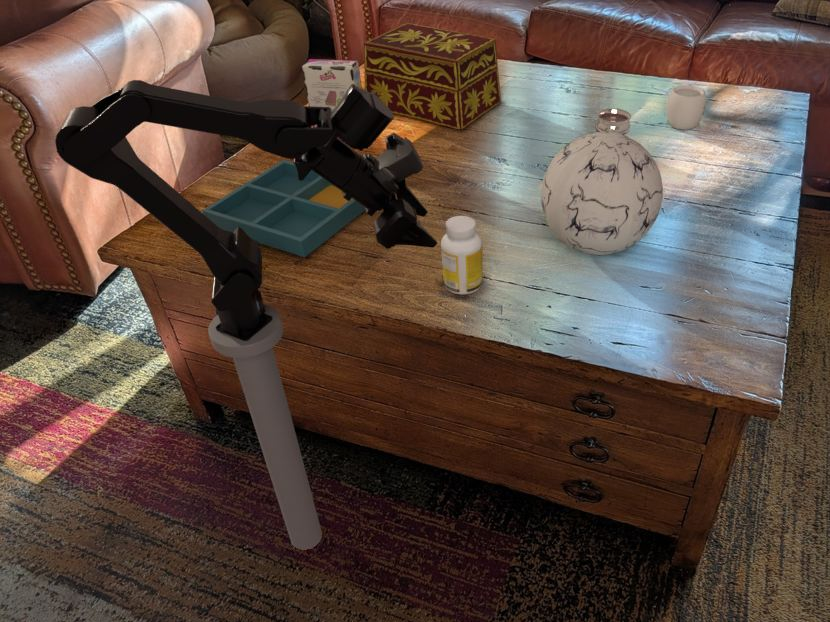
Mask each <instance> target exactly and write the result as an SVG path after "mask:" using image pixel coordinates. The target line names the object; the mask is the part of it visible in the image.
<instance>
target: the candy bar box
mask: <svg viewBox="0 0 830 622" xmlns="http://www.w3.org/2000/svg"><path fill="white" fill-rule="evenodd" d="M301 70H302V75H303V81H304V86H305V92H306V98H307V103H308V106H314V107H330V108H331V110H332V111H333V110H334V108H335V107H336V106H337V105H338V103H339V102H340V101H341V100H342V98H343V97H344V96H345V93H346V91H347V90H348V88H349V87H350V86H351V84H355V85H356V86H357V87H358V88H362V89H363V87H362V78H361V71H360V63H359V60H349V59H348V60H347V59H320V58H319V59H317V58H315V59H314V58H309V59H308V60H307V61H306V62H305V63H303V65H302V66H301ZM312 127H316V128H317V125H314V126H312ZM337 138H339V137H337ZM339 139H340V138H339ZM340 140H341V139H340ZM341 141H342V140H341Z"/></svg>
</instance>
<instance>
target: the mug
mask: <svg viewBox="0 0 830 622" xmlns="http://www.w3.org/2000/svg"><path fill="white" fill-rule="evenodd" d="M707 97H708V96H707V93H706V91H705V89H703V88H701V87H699V86H696V85H690V84H687V85H686V84H683V85H677V86H674V87H673V88H671V89H670V91H669V92H668V96H667V100H666V107H665V110H666V120H667V122H668V125H670V126H671V127H672V128H674V129H677V130H684V131H685V130H692V129H695V128H696V127H697V126H698V125H699V124H700V122H701V120H702V119H703V116H704V114H705V110H706V107H707Z"/></svg>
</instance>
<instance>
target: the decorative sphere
mask: <svg viewBox="0 0 830 622" xmlns="http://www.w3.org/2000/svg"><path fill="white" fill-rule="evenodd" d="M662 179H663V178H662V174H661V171H660V169H659V166H658V164H657V163H656V161H655V159H654V157H653V155H652V154H651V153H650V152H649V151H648V150H647V149H646V148H645V147H644V146H643V145H642V144H641V143H640V142H638V141H637V140H635V139H634V138H631V137H630V136H628V135H626V136H625V135H622V134H618V133H613V132H597V131H596V132H591V133H587V134H584V135H581V136H579V137H577V138H575V139H573V140H571V141H570V142H568V143H567V144H566V145H564V146H563V147H562V148H561V149H559V151H558V152H557V153H556V154H555V155H554V157H553V158H552V159H551V162H550V163H549V165H548V167H547V168H546V171H545V173H544V175H543V178H542V184H541V192H540V193H541V195H540V196H541V197H540V201H541V207H542V211H543V215H544V218H545V221H546V223H547V225H548V226H549V228H550V230H551V231H552V232H553V233H554V235H555V236H556V237H557V238H558V239H559V240H560V241H561V242H563V244H564V245H566V246H568V247H569V248H571V249H573V250H575V251H577V252H580V253H583V254H587V255H593V256H607V255H613V254H616V253H619V252H623V251H625V250H627V249H629V248H631V247H633V246H634V245H636V244H637V243H638V242H639V241H641V240H642V239H643V238H645V236H646V235H647V234H648V233H649V231H650V230H651V229H652V228H653V225H654V224H655V222H656V221H657V219H658V217H659V213H660V210H661V207H662V202H663V197H664V196H663V195H664V187H663V180H662Z"/></svg>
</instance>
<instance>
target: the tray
mask: <svg viewBox="0 0 830 622" xmlns="http://www.w3.org/2000/svg"><path fill="white" fill-rule="evenodd" d="M201 212H202V213H203V214H204V215H205V216H206V217H207V218H209V219H210V220H211V221H212V222H213V223H214V224H215V225H217V226H218V227H219V228H221V229H223V230H227V231H230V232H234V231H235V229H236V228H237V227H240V228H242V229H243V230H244V232H245V233H246V234H247V235H248V236H249V237H250V238H252V239H253V240H255V241H258V242H259V244H261V245H264V246H267V247H271V248H273V249H276V250H280V251H283V252H287V253H288V254H289V253H290V254H292V255H296V256H299V257H302V258H306V257H308V255H310V254H311V253H313V252H314V251H315V250H316V249H318V248H319V247H320V246H321V245H323V244H324V243H325V242H326V241H328V240H329V239H331V238H332V237H333V236H334V235H336V234H337V233H338V232H339V231H341V230H342V229H343V228H345V227H346V226H347V225H349V224H350V223H351V222H352V221H354V220H355V219H356V218H357V217H359V216H360V215H361V214H362V213H364V212H366V209H365V206H363V205H362V204H360V203H359V202H357V201H356V200H354V199H353V198H351V200H350V201H348V200H346V199H345V198H343V193H342V191H341V190H340V189H338V188H337V187H335V186H334V185H332V184H331V183H330V182H328V181H327V180H325V179H324V178H322V177H321V176H319V175H318V174H316V173H315V172H313V171H312V170H311V171H310V172H309V174H308V175H307V176H306V177H305V179H304V180H302V181H300V180H299V179H298V172H297V168H296V166H295V164H294V161H290V160H286V159H282V160H281V161H279V162H278V163H276V164H274V165H273V166H271V167H269V168H268V169H267V170H265V171H263V172H262V173H260V174H258V175H257V176H255V177H254V178H252V179H250V180H249V181H247V182H245V183H244V184H242V185H240V186H239V187H237V188H236V189H234V190H233V191H231V192H229V193H228V194H226V195H224V196H223V197H221V198H219V199H218V200H217V201H215V202H213V203H211V204H210V205H208V206H207V207H205V208H204V209H202V210H201Z"/></svg>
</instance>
